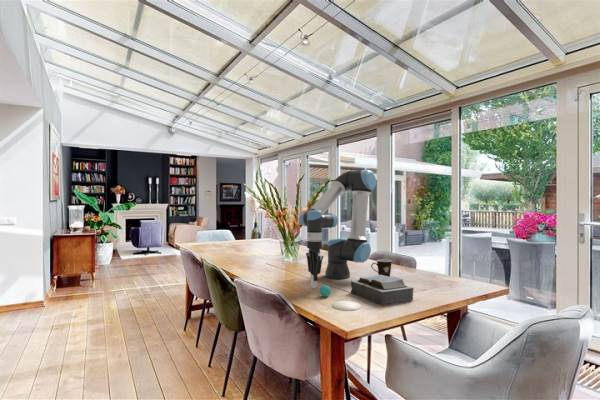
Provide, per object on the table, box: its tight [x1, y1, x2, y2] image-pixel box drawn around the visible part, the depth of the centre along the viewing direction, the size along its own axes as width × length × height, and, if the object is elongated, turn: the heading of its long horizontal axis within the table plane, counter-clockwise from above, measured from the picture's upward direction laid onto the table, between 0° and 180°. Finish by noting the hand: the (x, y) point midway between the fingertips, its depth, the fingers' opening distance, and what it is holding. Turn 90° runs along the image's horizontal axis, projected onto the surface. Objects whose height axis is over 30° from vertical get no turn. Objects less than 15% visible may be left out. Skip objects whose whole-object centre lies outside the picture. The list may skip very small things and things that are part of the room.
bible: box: [350, 274, 414, 306], centre depth 170 cm, size 23×27×10 cm
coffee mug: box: [371, 258, 392, 277], centre depth 211 cm, size 12×9×10 cm
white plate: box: [331, 300, 362, 312], centre depth 155 cm, size 13×13×1 cm
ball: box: [319, 284, 332, 298], centre depth 169 cm, size 6×6×6 cm
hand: (314, 286), depth 178 cm, fingers closed
